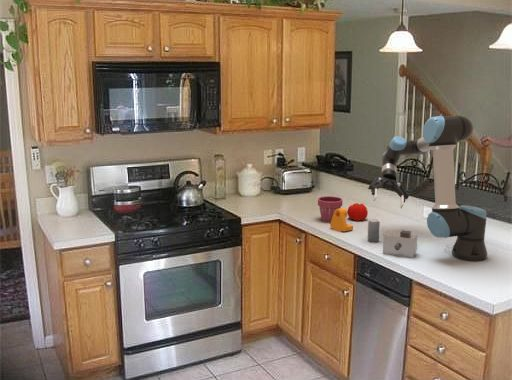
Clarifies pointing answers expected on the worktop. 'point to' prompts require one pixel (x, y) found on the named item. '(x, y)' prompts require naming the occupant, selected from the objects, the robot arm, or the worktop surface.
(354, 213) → the tomato
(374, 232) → the grey cylinder
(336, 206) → the plant pot
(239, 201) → the worktop surface
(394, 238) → the grey toy camera
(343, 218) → the bracket
